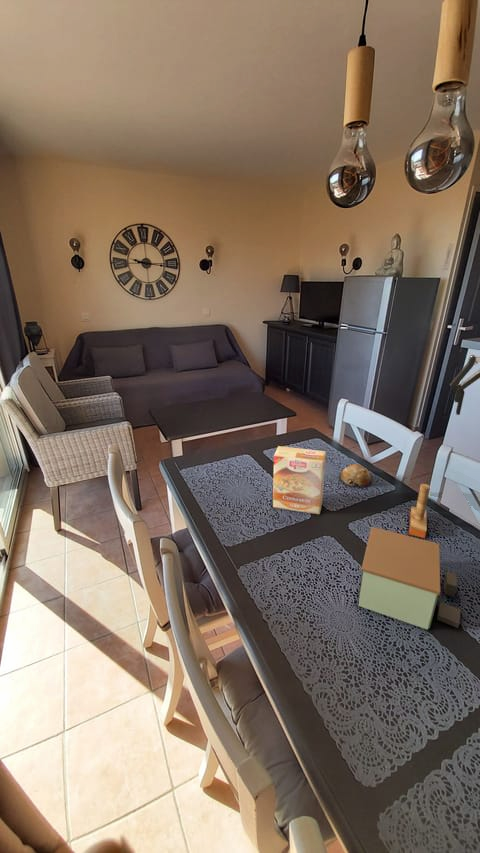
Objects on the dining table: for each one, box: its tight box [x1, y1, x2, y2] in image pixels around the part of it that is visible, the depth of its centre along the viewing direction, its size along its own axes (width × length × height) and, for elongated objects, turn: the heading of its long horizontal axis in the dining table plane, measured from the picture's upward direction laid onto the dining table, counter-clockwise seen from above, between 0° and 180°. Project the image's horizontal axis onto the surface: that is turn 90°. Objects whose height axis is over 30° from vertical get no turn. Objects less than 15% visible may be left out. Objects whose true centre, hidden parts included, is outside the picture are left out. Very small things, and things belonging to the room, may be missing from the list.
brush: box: [408, 483, 431, 539], centre depth 103 cm, size 10×4×14 cm, turn 155°
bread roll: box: [340, 463, 371, 488], centre depth 128 cm, size 10×10×8 cm
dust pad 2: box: [436, 601, 461, 629], centre depth 78 cm, size 4×4×2 cm
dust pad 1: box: [443, 571, 458, 598], centre depth 84 cm, size 4×4×2 cm
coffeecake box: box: [272, 445, 327, 515], centre depth 113 cm, size 15×7×20 cm, turn 73°
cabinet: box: [358, 526, 441, 630], centre depth 81 cm, size 16×15×12 cm
